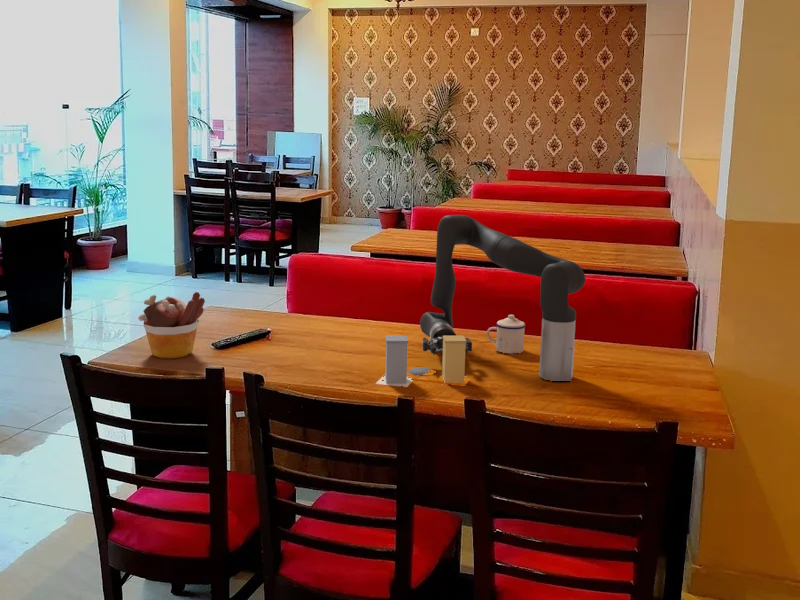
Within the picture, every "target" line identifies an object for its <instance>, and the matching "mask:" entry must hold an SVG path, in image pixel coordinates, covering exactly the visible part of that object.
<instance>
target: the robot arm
mask: <svg viewBox="0 0 800 600" xmlns="http://www.w3.org/2000/svg"><path fill="white" fill-rule="evenodd" d="M436 231H437V232H436V251H435V258H436V259H435V272H434V273H435V274H434V278H433V279H434V281H433V285H432V290H431V296H430V304H431V306H433V307H435V308H438V309H439V310H442V311H443V313H441V312H440V313H439V312H433V311H432V312H431V311H427V312H425V313H423V314H422V315H421V318H420V321H419V326H420V330H421V331H422V333H423V334H424V335H425V336H428V337H429V338H427V337H422V351H423V352H427V351H429V352H430V353H431V354H432V355H437V352H440V353H443V336H457V334H456V332H455V331H454V320H453V301H454V296H455V292H456V291H455V290H456V285H457V282H456V279H457V278H456V274H455V270H454V266H453V254H454V249H455V246H456V245H466V246H470V247H473V248H477V249H478V250H481V252H483V253H484V254H485V255H486V256H487V259H489V261H491V263H494V264H495V265H497V266H499V267H501V268H503V269H505V270H508V271H511V272H513V273H518V274H521V275H529V276H535V277H539V278H540V282H539V283H540V285H539V287H540V288H539V290H540V292H539V295H540V296H539V297H540V298H539V302H540V303H539V304H540V308H541V313H542V319H541V333H540V336H541V337H540V351H539V352H540V353H539V368H538V371H539V372H538V376H540V377H541V378H543V379H546V380H552V381H571V382H572V380H571V379H573V376H572V375H573V373H574V359H575V358H574V357H575V338H576V337H575V334H576V322H577V321H576V320H577V311H576V309H575V308H573V307H572V306H570V305H569V295H572V294H575V293H576V292H579V291H580V290H581V289H582V288H583V287H584V286H585V283H586V275H585V272H584V269H582V267H581V266H580V265H579V264H577V263H576V262H574V261H571V260H568V259H564V258H561V257H558V256H555V255H552V254H549V253H547V252H544V251H542V250H541V249H539V248H537V247H535V246H533V245H529V244H527V243H525V242H523V241H521V240H519V239H518V238H515V237H513V236H510V235H507V234H506V233H503V232H500V231H498V230H494V229H492V228H490V227H487V226H486V225H484V224H483V223H481V222H480V221H477V220H476V219H474V218H472V217H470V216H469V215H466V214H448V215H444V216H443V217H441V219H440V221H439V223H438V226H437V230H436ZM464 338H465V339H466V350H465V356H466V355H467V354H468V353H469V352H472V351H473V342H472V340H471V339H470V338H468V337H464ZM540 377H539V378H540ZM541 378H540V379H541ZM543 379H542V380H543ZM546 380H545V381H546ZM552 381H551V382H552Z"/></svg>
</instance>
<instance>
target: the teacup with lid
mask: <svg viewBox="0 0 800 600" xmlns="http://www.w3.org/2000/svg"><path fill="white" fill-rule="evenodd" d="M525 328H526V323H525V322H524V321H521V320H519V319H518V318H516V317H515V315H514V314H508V315H507V317H505V318H504V319H500V320H498V321H497V322H496V326H492V327H488V329H487V330H486V337H487V339H488V340H489V341H490V342H491V343H493V344H496V345H495V350H496V352H498V351H500V352H504V353H519V354H521V352H522V353H523V352H524V343H525ZM492 330H495V331H496V339H493V338H492V337H491V335H490V331H492ZM500 352H499V353H500ZM504 353H503V354H504Z"/></svg>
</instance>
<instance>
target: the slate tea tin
mask: <svg viewBox="0 0 800 600" xmlns="http://www.w3.org/2000/svg"><path fill="white" fill-rule="evenodd" d="M384 336H385V337H384V339H385V361H384V362H385V365H384V366H385V367H384V369H385V371H384V372H385V373H384V375H385V379H386V384H406V380H407V377H408V376H407V375H408V374H407V372H408V370H407V369H408V344H409V339H408V337H407V335H384Z"/></svg>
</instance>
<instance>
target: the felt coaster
mask: <svg viewBox="0 0 800 600" xmlns="http://www.w3.org/2000/svg"><path fill="white" fill-rule="evenodd" d="M430 368H431V367H430ZM430 368H429V367H424V366H423V367H422V366H421V367H418V366H417V367H412V368H410V369H409V370H408V374H410V373H411V374H410V375H412V374H413V375H412V376H417V375H419V376H420V377H424V376H423V374H425V372H426V373H428V372H427V371H429V370H431V369H432V368H431V369H430ZM428 369H429V370H428ZM430 372H431V371H430ZM419 376H418V377H419Z"/></svg>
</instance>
